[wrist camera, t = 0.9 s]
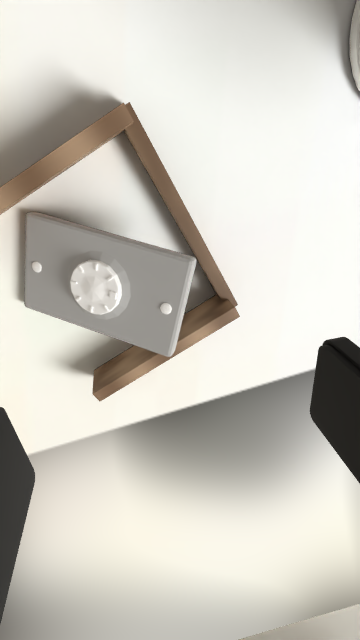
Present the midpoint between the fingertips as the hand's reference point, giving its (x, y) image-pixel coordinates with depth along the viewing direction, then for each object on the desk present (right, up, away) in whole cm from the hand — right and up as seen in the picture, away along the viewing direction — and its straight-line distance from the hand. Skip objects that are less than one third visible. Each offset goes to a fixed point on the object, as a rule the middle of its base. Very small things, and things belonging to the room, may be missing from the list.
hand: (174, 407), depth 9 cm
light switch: (-7, +7, +20) cm, 23 cm away
